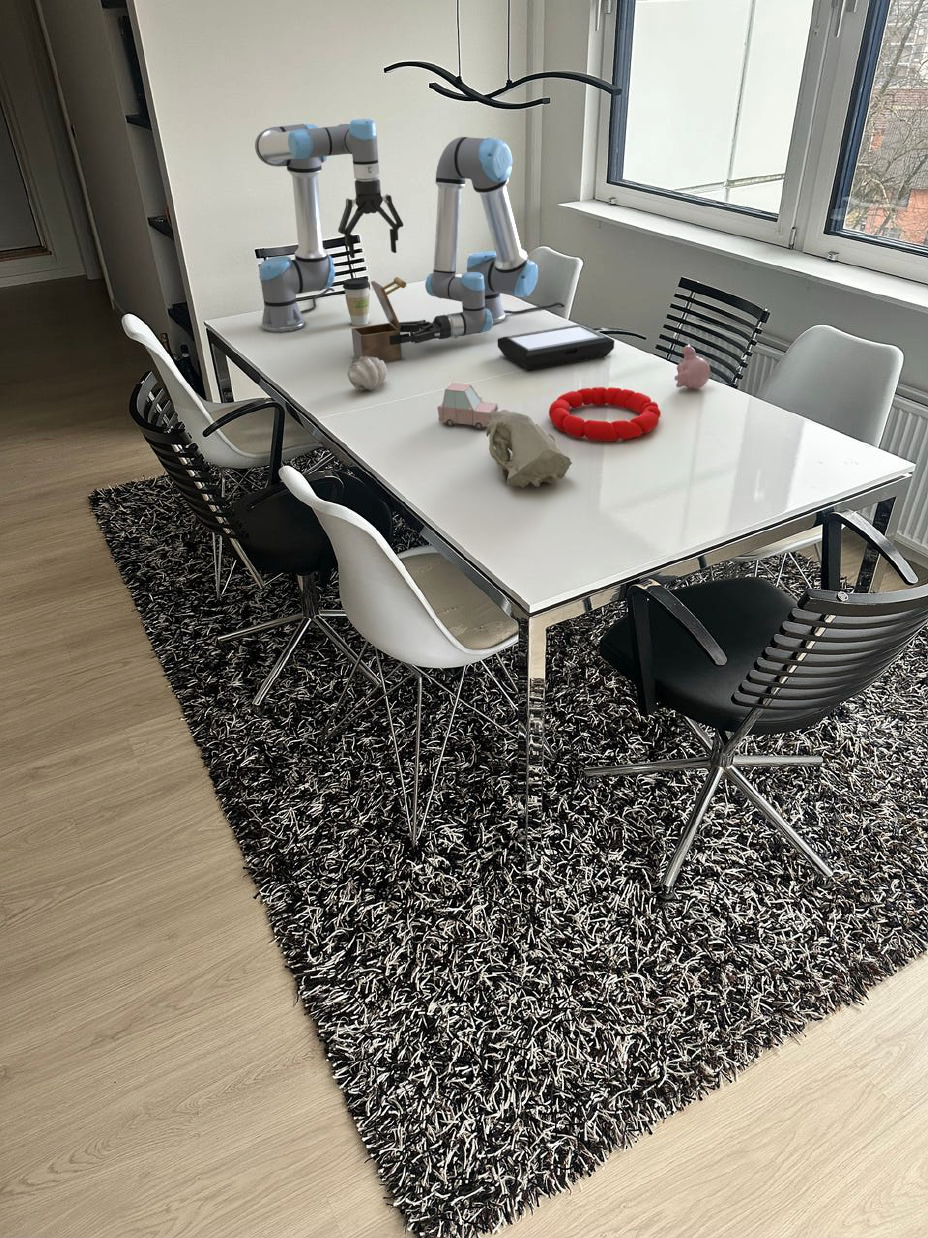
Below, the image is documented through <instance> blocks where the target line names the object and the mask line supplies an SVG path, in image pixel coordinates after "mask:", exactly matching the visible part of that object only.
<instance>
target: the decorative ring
mask: <svg viewBox="0 0 928 1238" xmlns="http://www.w3.org/2000/svg"><path fill="white" fill-rule="evenodd" d="M583 405H584V406H586V407H587V406H591V405H593V406H604V405H608V406H614V407H619V408H624V409H628V410H632V411H635V412H636V413H638V414H639V415H637V416H635V417H632V418H631V419H630V420H625V419H624V420H623V419H622V420H614V421H611V422H609V421H607V420H606V421H605V420H593V419H587V420H586V421H585V419H584V418H582V417H579V416H577V415H573V414H571V413H570V410H571V409H579V408H581V407H582V406H583ZM548 416H549V419H550V422H551V423H552V425H553V426H554V427H555V428H556V429H558V430H559V431H561V432H563V433H567V434H568V435H569V436H573V437H576V438H580V439H582V438H583V437H585V438H586V439H587V440H591V441H601V442H602V441H603V442H608V441H609V442H610V441H611V442H612V441H615V442H616V441H618V440H630V439H634V438H638V437H641V436H642V434H647V433H650V432H651V431H653V430H654V429H655V428H656V427H657V426H658V424H659V422H660V421H659V420H660V417H661V410H660V408H659V405H658V403H657V402H656V401H652V399H651V397H649V396H648V395H646V394H644V393H642V392H635V391H634V390H632V389H628V388H624V389H622V388H620V387H613V386H612V387H611V386H610V387H608V388H606V387H604V386H594V387H585V388H584V387H583V388H580V389H578V390H571V391H568V392H565V393H563V394H561V395H560V396H558V397H557V398H556V400H554V401H552V403H551V404H550V407H549V409H548Z"/></svg>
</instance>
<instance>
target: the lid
mask: <svg viewBox="0 0 928 1238" xmlns="http://www.w3.org/2000/svg"><path fill="white" fill-rule="evenodd" d="M370 285H371V286H372V288H373V291H374V293H375V295H376V297H377V299H378V302H379V304H380V306H381V308H382V311H383V313H384V315H385V317H386V320H387V323H391V324H392V325H394V326H395V327H396V328H398V329H400V328H401V326H400V323H399V322H400V321H399V320H398V317H397V315H396V312H395V310H394V307H393V306H392V303H391V301H390V298H389V296H388V295H390V294H392V293H393V292H395V291H397V290H399V289H400V288H401V289H405V288H406V287H407V282H406V281H404V280H403V279H401V278H400V277H398V276H396V277H394V278H393V281H392V282H389V283H388V284H386V285H384V286H383V285H381V284H379V283H378V282H376V281H375V280H372V281H370ZM394 285H396V286H395V287H393V288H391V287H392V286H394ZM388 288H391V289H389V290H388V291H386V290H387V289H388Z"/></svg>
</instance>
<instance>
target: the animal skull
mask: <svg viewBox="0 0 928 1238" xmlns="http://www.w3.org/2000/svg"><path fill="white" fill-rule="evenodd" d="M485 436H486V438H487V437H489V438H488V440H489V444H488V445H489V446H488V450H489V454H490V456H491V457H492V458H493V459H494V460H495V462H496V464H497V466H499V468H500V470H501V471H502V472H501V478H502V479H507V480H506V484H507V486H517V487H518V486H519V488H523V489H524V488H526V486H527V485H529V483H531V485H533V486H534V487H536V488H540V485H541V484H542V482H544V483H549V484H550V485H553V484H555V483H556V482H557V480H561V479H563V478H565V476H566V474H567V472H568V471H569V469H570V467H571V466H572V464H573V462H572V461H571V458H570V457H568V456H567V455H565V453H564V451H562V449H561V448H560V446H559V444H557V443H556V439H555V438H554V436H553V435H551V434H550V433H548V432H547V431H546V430H545V429H544V428H542V427H541V426H539V425H538V424H537V423H536V424H535V422H534V421H533V419H532V418H531V417H530V416H529V415H527V414H524V413H519V412H515V411H509V410H507V409H502V410H500V411H499V410H497V411H496V412H492V413H491V414H490V422H488V423H487V427H486V435H485ZM511 453H512V454H511ZM511 455H512V457H513V458H512V460H511ZM507 474H508V475H507Z"/></svg>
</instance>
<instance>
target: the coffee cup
mask: <svg viewBox="0 0 928 1238" xmlns="http://www.w3.org/2000/svg"><path fill="white" fill-rule="evenodd" d="M370 287H371V282H369V279H367V278H365V277H351V278H347V279H345V280H344V281H343V285H342V288H343V290H344V297H345V301H346V305H347V310H348V314H349V318H350V323H351V325H353V326H357V327H362V326H367V325H368V324H369V317H370V316H369V313H370Z"/></svg>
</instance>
